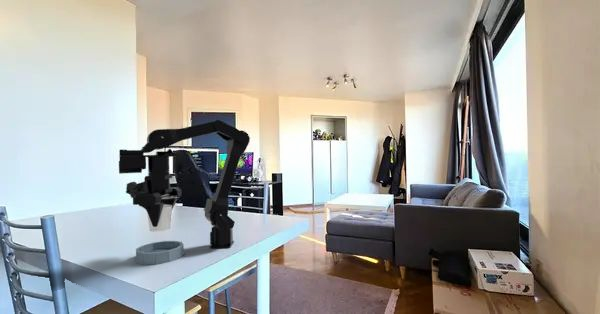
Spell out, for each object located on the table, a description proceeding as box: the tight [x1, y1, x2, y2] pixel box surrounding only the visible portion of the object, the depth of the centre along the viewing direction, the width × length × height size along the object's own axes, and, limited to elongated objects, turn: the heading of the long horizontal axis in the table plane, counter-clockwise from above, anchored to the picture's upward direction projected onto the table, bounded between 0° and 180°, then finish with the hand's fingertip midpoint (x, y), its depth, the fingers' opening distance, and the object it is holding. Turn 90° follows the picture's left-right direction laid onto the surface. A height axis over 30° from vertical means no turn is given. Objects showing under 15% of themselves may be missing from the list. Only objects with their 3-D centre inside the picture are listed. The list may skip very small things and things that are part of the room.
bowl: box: [135, 240, 185, 265], centre depth 87 cm, size 13×13×3 cm
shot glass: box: [147, 204, 173, 232], centre depth 87 cm, size 7×7×7 cm
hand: (160, 224), depth 87 cm, fingers closed on shot glass, 6 cm apart
